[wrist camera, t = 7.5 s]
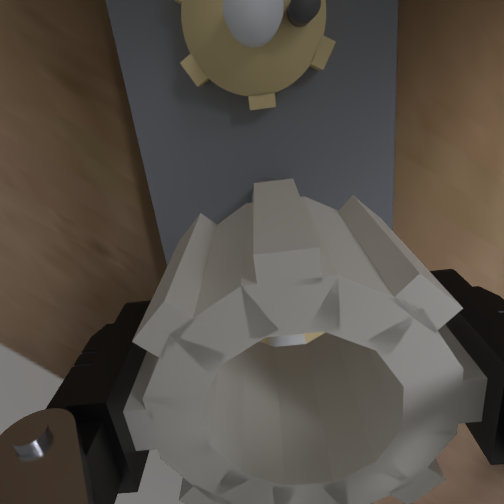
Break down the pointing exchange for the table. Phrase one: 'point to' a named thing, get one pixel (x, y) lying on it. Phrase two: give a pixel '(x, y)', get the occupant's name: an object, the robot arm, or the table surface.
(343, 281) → the ivory gear
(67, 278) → the table surface
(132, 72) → the gear board
